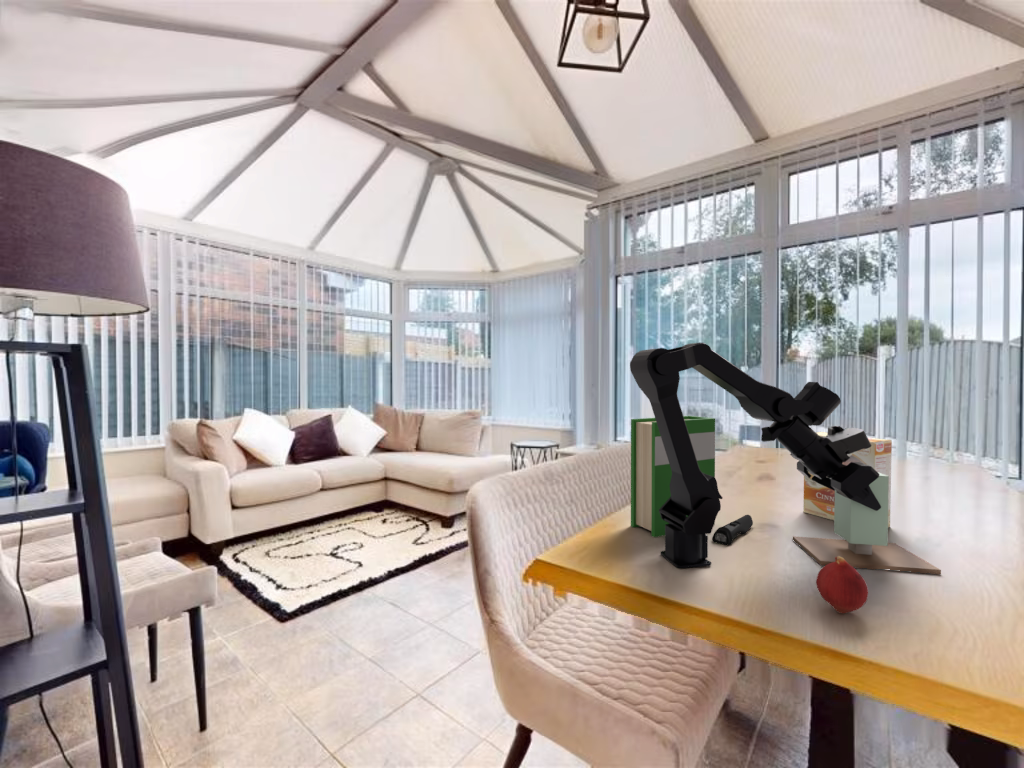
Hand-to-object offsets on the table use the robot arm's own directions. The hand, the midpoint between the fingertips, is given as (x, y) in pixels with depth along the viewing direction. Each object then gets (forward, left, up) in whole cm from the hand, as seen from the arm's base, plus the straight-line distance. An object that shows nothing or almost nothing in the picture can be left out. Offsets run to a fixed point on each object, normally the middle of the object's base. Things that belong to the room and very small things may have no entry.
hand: (868, 504), depth 81 cm
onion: (-22, -15, -10) cm, 29 cm away
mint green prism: (-1, +1, -7) cm, 7 cm away
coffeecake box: (+15, +19, -10) cm, 26 cm away
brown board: (-1, +1, -10) cm, 10 cm away
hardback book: (-27, +22, -10) cm, 36 cm away
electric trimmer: (-17, +15, -10) cm, 25 cm away
